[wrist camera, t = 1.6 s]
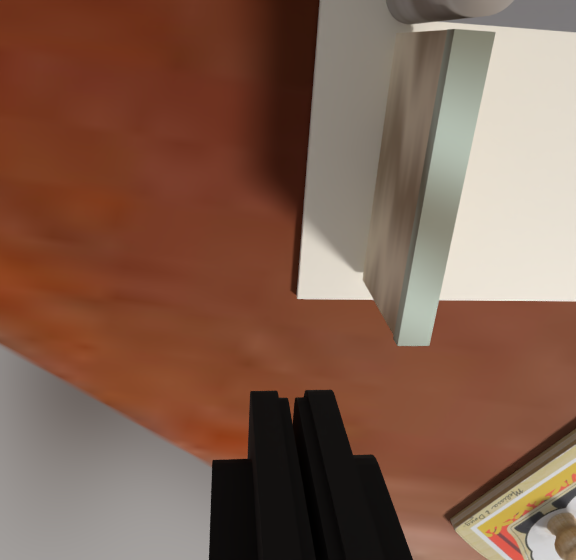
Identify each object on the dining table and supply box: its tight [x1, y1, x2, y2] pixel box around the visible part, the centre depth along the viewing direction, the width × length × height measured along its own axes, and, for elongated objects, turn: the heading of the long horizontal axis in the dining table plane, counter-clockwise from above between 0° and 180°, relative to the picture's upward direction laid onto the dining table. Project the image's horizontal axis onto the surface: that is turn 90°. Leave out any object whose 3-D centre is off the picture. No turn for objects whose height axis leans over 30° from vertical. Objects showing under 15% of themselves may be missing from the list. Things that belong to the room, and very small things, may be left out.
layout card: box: [297, 0, 576, 301], centre depth 23 cm, size 20×30×1 cm, turn 176°
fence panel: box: [362, 29, 496, 346], centre depth 22 cm, size 12×1×7 cm, turn 176°
